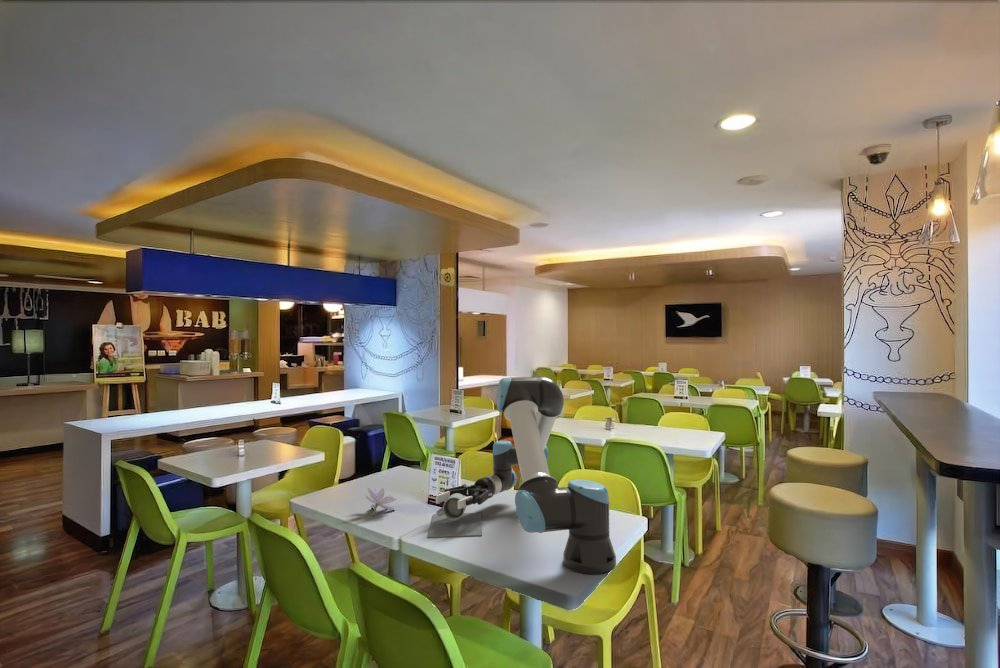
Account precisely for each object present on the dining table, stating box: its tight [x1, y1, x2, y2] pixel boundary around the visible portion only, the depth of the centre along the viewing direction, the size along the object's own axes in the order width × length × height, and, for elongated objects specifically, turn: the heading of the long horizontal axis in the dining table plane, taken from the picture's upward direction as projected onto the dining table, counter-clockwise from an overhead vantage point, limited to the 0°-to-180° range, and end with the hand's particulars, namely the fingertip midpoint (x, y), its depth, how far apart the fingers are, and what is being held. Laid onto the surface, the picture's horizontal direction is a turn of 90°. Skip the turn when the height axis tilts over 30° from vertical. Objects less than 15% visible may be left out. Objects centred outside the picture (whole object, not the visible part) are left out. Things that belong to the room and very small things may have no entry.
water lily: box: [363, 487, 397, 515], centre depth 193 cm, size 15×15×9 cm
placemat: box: [427, 512, 483, 539], centre depth 179 cm, size 22×18×1 cm
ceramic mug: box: [435, 493, 468, 520], centre depth 180 cm, size 11×8×8 cm
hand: (447, 502), depth 176 cm, fingers closed on ceramic mug, 10 cm apart
